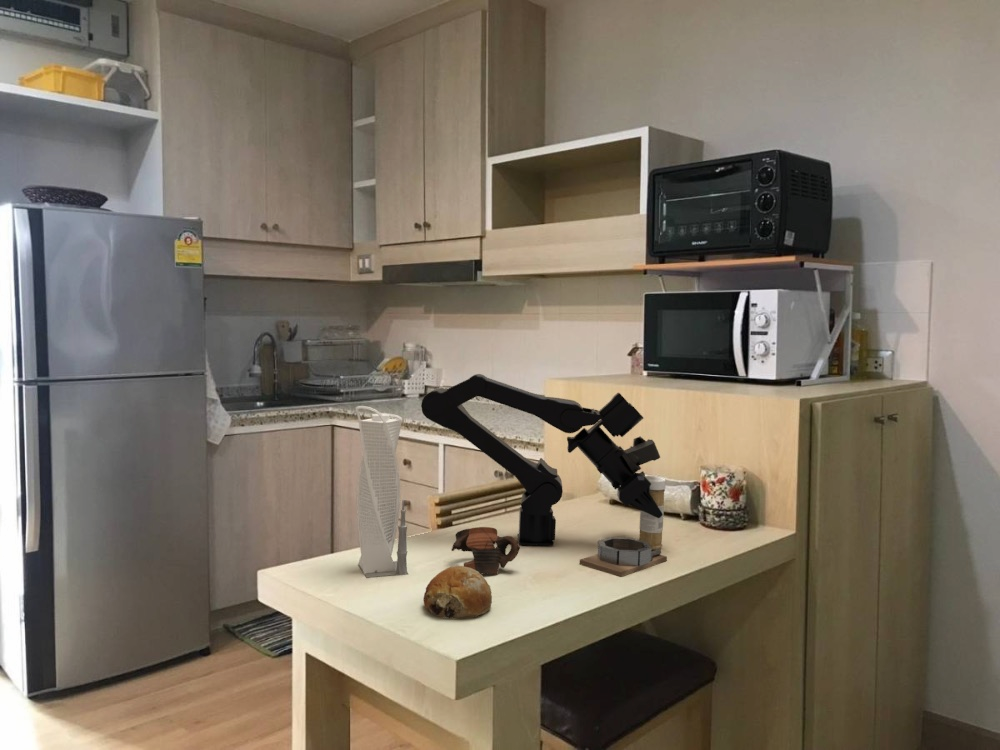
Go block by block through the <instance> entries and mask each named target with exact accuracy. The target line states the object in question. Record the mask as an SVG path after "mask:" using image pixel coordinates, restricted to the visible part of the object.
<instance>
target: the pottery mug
mask: <svg viewBox="0 0 1000 750" xmlns="http://www.w3.org/2000/svg"><path fill="white" fill-rule="evenodd" d="M455 538H456V539H455V541H454V542H453V544H452V547H451V552H454V551H455V549H456V550H457V551H462V552H465V553H466V552H471V553H472V556H473V559H472V560H470V561H466V562H463V566H464V567H469V568H472V569H474V570H476V571H478V572H479V573H480V574H481V575H487V576H488V575H493V576H494V575H495V576H497V575H498V574H499V568H501V569H505V567H506V565H507V564H508V563H509V562H512V561H514V560H515V559H516V557H517V556H518V554H519V551H520V549H521V547H520V546H519V545H520V544H519V541H518V539H517V538H515V537H514V536H512V535H505V536H501V537H500V536H499V535H498V530H497V529H496V528H494V527H490V526H478V527H476V526H475V527H470V528H465V529H462V530H459V531H457V532H456V533H455ZM495 544H496V546H495ZM509 545H510V550H509V552H508V553H507V547H508V546H509ZM506 553H507V554H506Z"/></svg>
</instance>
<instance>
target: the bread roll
mask: <svg viewBox="0 0 1000 750" xmlns="http://www.w3.org/2000/svg"><path fill="white" fill-rule="evenodd" d="M492 599H493V595H492V589H491V585H490V584H489V583H488V581H487V580H486V578H485V577H484V576H483V574H480V573H479V572H478V571H476V570H474V569H472V568H469V567H464V565H460V564H459V565H454V566H449V567H447V568H445V569H444V570H442V571H440V572H439V573H438V574H436V575H435V576H434V577H433V578H431V580H430V581H429V583H428V584H427V585H426V587H425V592H424V596H423V604H424V607H425V609H426V610H427V612H429V613H431V614H432V615H434V616H436V617H439V618H443V619H444V618H445V619H457V620H459V619H473V618H474V619H475V618H476V617H478V616H481V615H484V614H485V613H488V611H490V609H491V608H492V603H493V602H492Z"/></svg>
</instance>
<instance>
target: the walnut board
mask: <svg viewBox="0 0 1000 750" xmlns="http://www.w3.org/2000/svg"><path fill="white" fill-rule="evenodd" d="M667 559H668V556H667V555H663V554H660V555H657V556H654V557H653V560H652V561H651V562H649V563H646V564H644V565H641V566H619V565H614V564H611V563H607V562H604V561H601V560H600V559H599V557H598V553H596V554H594V555H590V556H588V557H584V558H581V559H579V565H581V564H582V565H581V566H584V565H585V567H587V566H588V568H591V569H594V570H597V571H601V572H604V573H608V574H610V575H614V576H617V577H625V576H628V575H631V574H633V573H637V572H639V571H641V570H644V569H648V568H650V567H653V566H656V565H659V564H661V563H664V562H667V561H668V560H667Z"/></svg>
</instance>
